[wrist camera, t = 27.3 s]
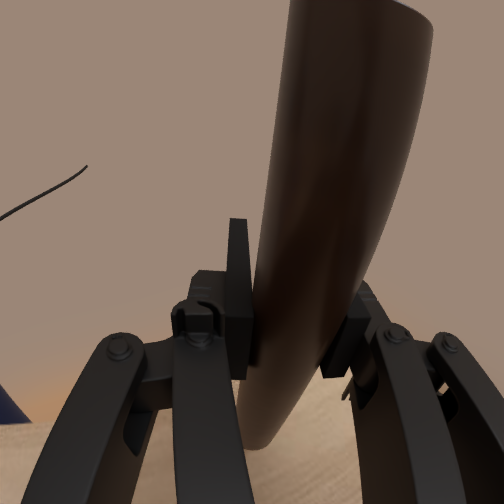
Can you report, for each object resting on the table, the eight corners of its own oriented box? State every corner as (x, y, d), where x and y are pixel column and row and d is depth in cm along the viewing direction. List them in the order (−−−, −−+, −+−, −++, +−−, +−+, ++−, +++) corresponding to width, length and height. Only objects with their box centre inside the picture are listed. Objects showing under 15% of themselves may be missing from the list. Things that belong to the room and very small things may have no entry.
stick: (224, 426, 16) (260, -7, 3) (258, 408, 17) (349, 24, 5) (247, 457, 14) (388, -18, 2) (281, 437, 15) (451, 43, 3)
